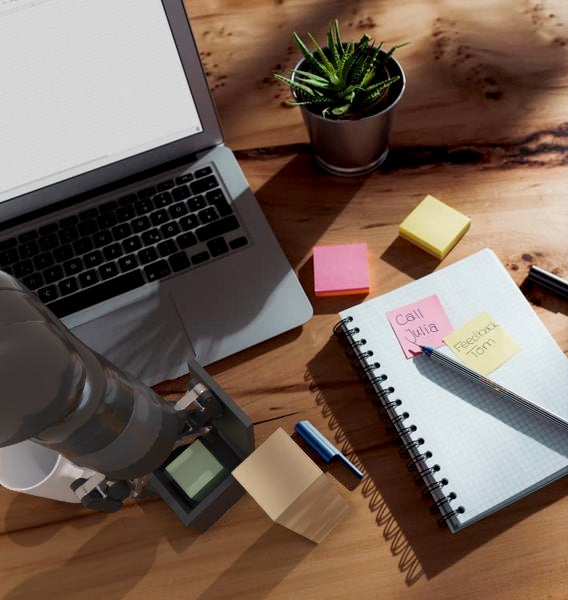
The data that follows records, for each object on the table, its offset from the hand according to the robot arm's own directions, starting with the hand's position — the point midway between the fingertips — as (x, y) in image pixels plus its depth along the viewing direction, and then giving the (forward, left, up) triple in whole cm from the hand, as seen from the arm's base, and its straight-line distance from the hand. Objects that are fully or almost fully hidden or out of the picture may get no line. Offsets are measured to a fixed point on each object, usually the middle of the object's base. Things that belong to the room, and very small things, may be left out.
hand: (179, 461), depth 67 cm
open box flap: (+6, 0, +2) cm, 6 cm away
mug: (-9, +9, -10) cm, 16 cm away
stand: (+7, -12, -10) cm, 17 cm away
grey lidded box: (+1, 0, -10) cm, 10 cm away
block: (0, 0, -9) cm, 9 cm away
